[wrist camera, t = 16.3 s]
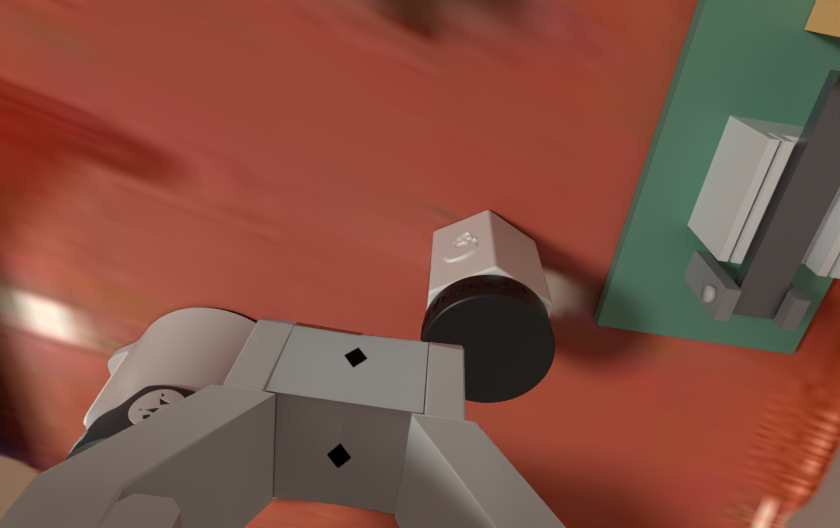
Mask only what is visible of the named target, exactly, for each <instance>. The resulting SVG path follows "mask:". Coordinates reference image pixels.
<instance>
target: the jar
mask: <svg viewBox="0 0 840 528" xmlns="http://www.w3.org/2000/svg"><path fill="white" fill-rule="evenodd" d="M551 309H552V301H551V298H550V294H549V290H548V287H547V283H546V280H545V276H544V273H543V269H542V265H541V262H540V258H539V255H538V251H537V247H536V244H535V242H534V241H533V240H532V239H530V238H529V237H528V236H526V235H525V234H523V233H522V232H520V231H519V230H517V229H516V228H515V227H513V226H512V225H510V224H509V223H507V222H506V221H504V220H503V219H502V218H500V217H499V216H497V215H496V214H494V213H493V212H491V211H490V210H486V211H484V212H481V213H479V214H476V215H474V216H471V217H469V218H466V219H464V220H461V221H459V222H456V223H454V224H451V225H449V226H446V227H444V228H441V229H439V230H437V231H435V232H434V233H433V241H432V250H431V260H430V269H429V278H428V289H427V301H426V313H425V317H424V321H423V324H422V330H421V340H422V342H428V344H429V342H434V343H443V344H452V345H461V346H462V347H463V349H464V369H465V400H468V401H473V402H480V403H494V402H502V401H506V400H510V399H513V398H516V397H518V396H521V395H523V394H525V393H526V392H528V391H530V390H531V389H532V388H534V387H535V386H536V385H537V384H538V383H539V382H540V381H541V380H542V379H543V378H544V377H545V375H546V374H547V372H548V371H549V369H550V367H551V365H552V362H553V359H554V353H555V340H554V335H553V331H552V327H551V323H550V320H549V318H550V314H551Z"/></svg>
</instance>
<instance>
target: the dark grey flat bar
mask: <svg viewBox="0 0 840 528" xmlns="http://www.w3.org/2000/svg"><path fill="white" fill-rule="evenodd" d="M839 187H840V71H836V70H830V71H829V74H828V76H827V78H826V80H825V82H824V85H823V87H822V89H821V91H820V93H819V96H818V98H817V100H816V102H815V104H814V107H813V109H812V111H811V113H810V115H809V117H808V120H807V122H806V124H805V126H804V128H803V131H802V133H801V135H800V137H799V139H798V142H797V144H796V146H795V148H794V150H793V153H792V155H791V157H790V159H789V161H788V164H787V166H786V168H785V170H784V172H783V174H782V177H781V179H780V181H779V183H778V185H777V188H776V190H775V192H774V194H773V196H772V199H771V201H770V203H769V205H768V207H767V210H766V212H765V214H764V216H763V218H762V221H761V223H760V225H759V227H758V229H757V232H756V234H755V236H754V238H753V240H752V242H751V245H750V247H749V249H748V251H747V253H746V256H745V258H744V260H743V262H742V264H741V267H740V269H739V271H738V273H737V275H736V278H735V280H734V282H735V283H736V285H737V286H738V287H739V288H740V289H741V290H742V292H741V295H740V297H739V299H738V301H737V303H736V305H735V308H734V310H733V312H732V314H736V315H743V316H749V317H756V318H763V319H770V320H772V318H773V316H774V314H775V312H776V310H777V308H778V306H779V305H780V303H781V301H782V299H783V297H784V295H785V293H786V291H787V289H788V287H789V285H790V283H791V281H792V279H793V277H794V275H795V273H796V271H797V269H798V267H799V265H800V263H801V261H802V259H803V257H804V256H805V254H806V252H807V250H808V248H809V246H810V244H811V242H812V240H813V238H814V236H815V234H816V232H817V230H818V228H819V226H820V224H821V222H822V220H823V218H824V216H825V214H826V212H827V210H828V208H829V207H830V205H831V203H832V201H833V199H834V197H835V195H836V193H837V191H838V189H839Z"/></svg>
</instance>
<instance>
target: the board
mask: <svg viewBox="0 0 840 528" xmlns="http://www.w3.org/2000/svg"><path fill="white" fill-rule="evenodd" d="M815 3H816V0H698V3H697V6H696V9H695V12H694V15H693V18H692V21H691V24H690V27H689V30H688V33H687V36H686V39H685V42H684V45H683V48H682V51H681V54H680V57H679V61H678V64H677V67H676V70H675V73H674V76H673V79H672V82H671V85H670V88H669V91H668V94H667V97H666V100H665V103H664V106H663V109H662V112H661V115H660V118H659V121H658V124H657V127H656V130H655V133H654V136H653V139H652V142H651V145H650V148H649V151H648V154H647V157H646V160H645V163H644V166H643V169H642V172H641V175H640V178H639V181H638V184H637V187H636V190H635V194H634V197H633V200H632V203H631V206H630V209H629V212H628V215H627V218H626V221H625V224H624V227H623V230H622V233H621V236H620V239H619V242H618V245H617V248H616V251H615V254H614V257H613V260H612V263H611V266H610V269H609V272H608V275H607V278H606V281H605V284H604V287H603V290H602V293H601V296H600V299H599V302H598V305H597V308H596V311H595V314H594V320H595V322H596V325H597V326H603V327H610V328H617V329H624V330H630V331H637V332H644V333H651V334H658V335H664V336H671V337H678V338H685V339H691V340H698V341H705V342H712V343H718V344H725V345H732V346H739V347H746V348H752V349H759V350H766V351H773V352H779V353H786V354H793V353H794V352H795V350H796V348H797V346H798V344H799V342H800V340H801V339H802V337H803V335H804V333H805V331H806V329H807V327H808V326H809V324H810V322H811V320H812V318H813V316H814V314H815V313H816V311H817V309H818V307H819V305H820V303H821V301H822V300H823V298H824V296H825V294H826V292H827V290H828V288H829V287H830V285H831V283H832V281H833V279H834V278H838V279H840V187H839V189H838V191H837V193H836V195H835V197H834V199H833V201H832V203H831V205H830V207H829V208H828V210H827V212H826V214H825V216H824V218H823V220H822V222H821V224H820V226H819V228H818V230H817V232H816V234H815V236H814V238H813V240H812V242H811V244H810V246H809V248H808V250H807V252H806V254H805V256H804V257H803V259H802V261H801V263H800V265H799V267H798V269H797V271H796V273H795V275H794V277H793V279H792V281H791V283H790V285H789V287H788V289H787V291H786V293H785V295H784V297H783V299H782V301H781V303H780V305H779V306H778V308H777V310H776V312H775V314H774V316H773V318H772V320H770V319H763V318H756V317H749V316H743V315H736V314H732V312H733V310H734V308H735V305H736V303H737V301H738V299H739V297H740V295H741V292H742V290H741V289H740V288H739V287H738V286H737V285H736V283H735V282H734V280H735V278H736V275H737V273H738V271H739V269H740V267H741V264H742V262H743V260H744V258H745V256H746V253H747V251H748V249H749V247H750V245H751V242H752V240H753V238H754V236H755V234H756V232H757V229H758V227H759V225H760V223H761V221H762V218H763V216H764V214H765V212H766V210H767V207H768V205H769V203H770V201H771V199H772V196H773V194H774V192H775V190H776V188H777V185H778V183H779V181H780V179H781V177H782V174H783V172H784V170H785V168H786V166H787V164H788V161H789V159H790V157H791V155H792V153H793V150H794V148H795V146H796V144H797V142H798V139H799V137H800V135H801V133H802V131H803V128H804V126H805V124H806V122H807V120H808V117H809V115H810V113H811V111H812V109H813V107H814V104H815V102H816V100H817V98H818V96H819V93H820V91H821V89H822V87H823V85H824V82H825V80H826V78H827V76H828V74H829V71H830V70H836V71H840V37H837V36H832V35H827V34H822V33H817V32H813V31H808V30H804V29H805V26H806V24H807V22H808V19H809V17H810V15H811V12H812V10H813V7H814V5H815Z"/></svg>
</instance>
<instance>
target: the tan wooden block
mask: <svg viewBox="0 0 840 528" xmlns="http://www.w3.org/2000/svg"><path fill="white" fill-rule="evenodd" d="M804 30H808V31H813V32H817V33H822V34H827V35H832V36H837V37H840V0H816V3H815V5H814V7H813V10H812V12H811V15H810V17H809V19H808V22H807V24H806V26H805V29H804Z"/></svg>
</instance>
